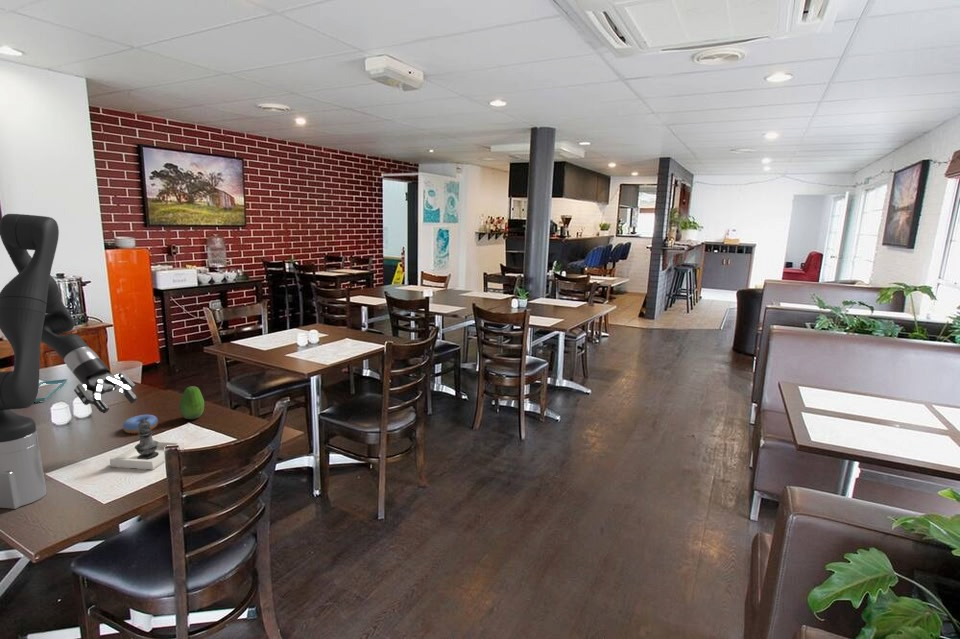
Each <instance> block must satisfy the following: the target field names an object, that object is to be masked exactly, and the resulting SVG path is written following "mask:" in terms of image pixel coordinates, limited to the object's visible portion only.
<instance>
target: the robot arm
mask: <svg viewBox="0 0 960 639" xmlns="http://www.w3.org/2000/svg"><path fill="white" fill-rule="evenodd" d="M59 230H60V229H59V224H58V222H57V221H56V220H55V219H54V218H53V217H50V216H43V215H34V214H23V213H22V214H20V213H6V214H4V215H3V216H2V217H1V219H0V239H1V242H2V244H3V246H4V248H5V250H6V252H7V254H8V255H9V258H10V260H11V262H12V264H13V265H14V268H15V269H16V271H17V272H18V274H17V275H15V276H14V277H13V278H12V279H10V280H9V282H8V283H6V284H5V286H4V287H3V288H2V289H1V290H0V331H1V332H2V334H3V336H4V337H5V338H6V340H7V341H8V342H9V344H10V346H11V348H12V351H13V356H14V362H13V363H14V365H13V371H11V370H9V371H0V508H1V509H14V510H16V509H18V508H19V507H22V506H26V505H29V504H31V503H35V502H36V501H38V500H40V499H42V498H43V497H45V495H46V494H47V493H48V492H47V486H46V485H47V484H46V479H45V474H44V467H43V461H42V455H41V448H40V445H39V444H40V443H39V438H38V432H37V426H36V422H35V420H34V419H33V418H32V417H28V416H24V415H21V414H18V413H15V412H13V411H12V410H21V409H22V410H23V409H27V408H30V407H32V405H33V404H35V403H34V402H35V400H36V397H37V394H38V389H39V383H40V362H41V345H42V344H41V343H43V344H45V345H46V346H48V347H49V348H51V349H52V350H54V352H56V353H57V355H58V356H59V357H60V358H61V359H62V361H64V363H65V365H66V366H67V368H68V369H69V370H70V371H71V373H72V374H73V375H74V376H75V378H76V379H78V381H79V382H80V383H78V384H77V385H76V386H75V388H74V389H73V392H74V393H75V394H76V395H77V397H78V398H79V399H80V401H81V403H82V404H83V405H85V406H87V405H94V406H95V408H96V409H97V410H98V411H99V412H100V413H102V414H107V413H108V412H109V411H110V408H109V406H108V405H107V404H106V403H105V402H104V400H103V399H102V398H101V395H104V394H105V393H111V392H115V393H120V394H122V395H124V397H125V398H126V399H127V400H128V403H130V404H134V403H135V402H136V401H137V395H136V394H135V393H134V392H133V390H132V389H133V388H134V387H135V385H136V384H135V383H134V382H133V381H132V380H131V379H130V378H129V376H128V375H127V374H126V373H125V372H123V371H119V373H118V374H115V375H114V374H112V373H111V370H110V369H109V367H108V366H107V365H106V364H105V362H104V361H103V360H102V358H100V357H99V355H98V354H97V352H95V351H94V350H93V349H92V348H91V347H90V346H89V345H88V344H87V343H86V342H85V341H84V339H83V338H82V337H81V336H80V335H78V334H75V333H73V334H72V333H71V334H67V333H69V332H71V331H72V330H73V329H74V328H75V324H76V321H75V319H74V318H73V316H72V315H71V313H70V312H69V311H68V309H67V308H66V306H65V304H64V302H63V300H62V297H61V292H60V287H59V284H58V282H57V281H56V279H55V278H54V277H53V276H52V275H51V273H52V267H53V264H54V260H55V256H56V252H57V248H58V242H59V234H60V231H59ZM28 250H29V251H34V252H33V254H32V256H31V255H30V253H29V251H28ZM65 333H66V334H65ZM63 334H65V335H63ZM88 391H90V392H91V395H90V393H89V392H88Z"/></svg>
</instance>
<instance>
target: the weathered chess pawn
mask: <svg viewBox="0 0 960 639" xmlns="http://www.w3.org/2000/svg"><path fill="white" fill-rule="evenodd" d="M142 420H143V421H141V422H140V423H139V424H138V426H139V433H137V435H138V436H139V442H140V443H139V442H138V443H139V444H137V443H136V444H137V445H136V444H135V445H136V446H135V449H136V450H137V452H138V453H139V454H141V455H139V456H138V457H137V459H144V460H149V459H152V458H155V457H156V456H158V454H159V453H158V452H155V450H156V449H157V446H158V442H157V441H158V440H157V441H153V440H154V439H153V430H151V428H150V422H149V421H146V420H145V419H144V418H143V419H142Z"/></svg>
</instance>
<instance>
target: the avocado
mask: <svg viewBox="0 0 960 639" xmlns="http://www.w3.org/2000/svg"><path fill="white" fill-rule="evenodd" d="M178 407H179V412H180V414H181V416H182V417H183V418H184V419H187V420H196V419H198V418H199V417H201V416H202V414H203V413H204V409H205V400H204V397H203V394H202V392H201V390H200V388H199V387H197V386H195V385H194V386H188V387H186V388H185V390H184V391H183V393H182V395H181V398H180V401H179V406H178Z"/></svg>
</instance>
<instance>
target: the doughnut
mask: <svg viewBox="0 0 960 639" xmlns="http://www.w3.org/2000/svg"><path fill="white" fill-rule="evenodd" d="M143 418H144V419H145V420H146V421H149V422H150V428H151V431H153V430H154V429H156V427H157V426H158V425H159V419H158V417H157V416H155V415H153V414H140V415H136V416H132V417H130V418H128V419H126V420H124V422H123V424H122V429H123V431H124V432H125V433H127V434H130V433H131V434H130V435H138V433H139V426H138V424H139V423H140V422H141V421H143V420H142V419H143Z"/></svg>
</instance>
